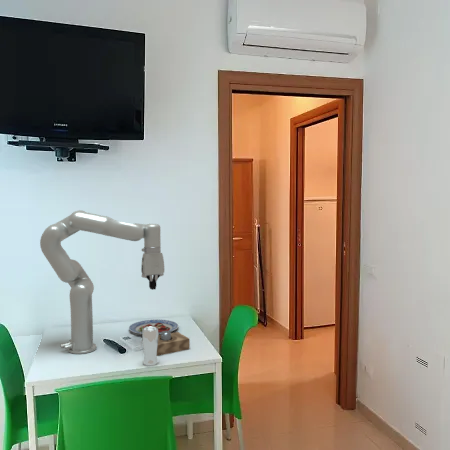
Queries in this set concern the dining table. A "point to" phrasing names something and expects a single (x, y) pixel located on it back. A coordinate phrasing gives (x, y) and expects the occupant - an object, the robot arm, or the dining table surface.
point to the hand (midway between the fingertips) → (152, 288)
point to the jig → (173, 344)
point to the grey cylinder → (165, 335)
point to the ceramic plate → (154, 325)
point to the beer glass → (150, 345)
